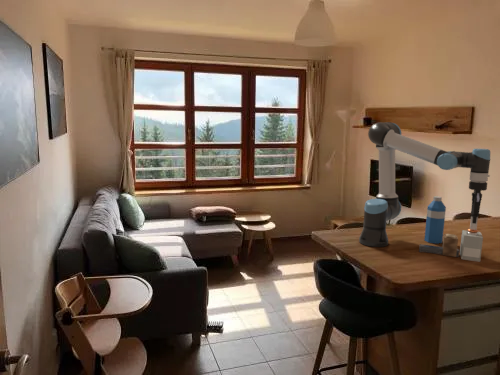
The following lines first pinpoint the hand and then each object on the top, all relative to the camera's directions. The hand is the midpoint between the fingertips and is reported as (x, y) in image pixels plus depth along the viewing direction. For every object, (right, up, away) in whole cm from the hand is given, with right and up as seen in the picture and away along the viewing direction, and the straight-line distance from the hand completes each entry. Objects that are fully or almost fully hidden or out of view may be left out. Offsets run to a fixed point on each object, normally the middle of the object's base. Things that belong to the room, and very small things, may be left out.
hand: (473, 229), depth 194 cm
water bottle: (-7, -10, +28) cm, 30 cm away
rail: (-13, -13, +8) cm, 20 cm away
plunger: (0, -6, +1) cm, 6 cm away
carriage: (-9, -13, +6) cm, 17 cm away
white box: (0, -14, +3) cm, 14 cm away
